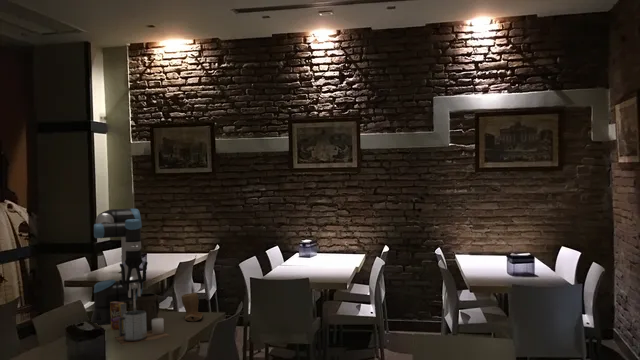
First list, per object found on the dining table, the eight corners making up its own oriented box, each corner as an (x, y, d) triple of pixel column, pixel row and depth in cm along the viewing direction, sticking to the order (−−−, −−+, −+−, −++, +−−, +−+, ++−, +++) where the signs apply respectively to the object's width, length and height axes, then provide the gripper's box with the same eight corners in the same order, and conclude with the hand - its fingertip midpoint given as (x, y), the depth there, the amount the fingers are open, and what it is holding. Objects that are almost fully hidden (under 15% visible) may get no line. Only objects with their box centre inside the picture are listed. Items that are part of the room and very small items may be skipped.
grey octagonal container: (117, 338, 280) (116, 312, 280) (143, 334, 287) (142, 309, 287) (122, 343, 271) (121, 317, 271) (149, 339, 278) (148, 313, 278)
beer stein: (150, 334, 292) (151, 296, 293) (132, 333, 294) (132, 295, 295) (164, 328, 307) (165, 292, 308) (146, 328, 309) (147, 291, 310)
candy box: (110, 330, 302) (109, 302, 302) (117, 328, 306) (116, 300, 306) (120, 332, 297) (120, 304, 297) (127, 330, 301) (126, 302, 301)
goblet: (125, 323, 281) (124, 283, 281) (140, 320, 285) (140, 281, 285) (128, 326, 274) (128, 285, 274) (144, 323, 279) (144, 283, 278)
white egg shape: (150, 332, 291) (150, 319, 291) (161, 330, 294) (161, 317, 294) (153, 335, 286) (153, 321, 286) (165, 333, 289) (165, 319, 289)
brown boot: (183, 316, 330) (182, 291, 330) (203, 315, 332) (203, 290, 332) (179, 322, 315) (179, 296, 315) (201, 321, 317) (200, 295, 317)
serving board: (114, 340, 283) (114, 337, 283) (161, 332, 296) (161, 329, 296) (122, 348, 270) (122, 344, 270) (171, 339, 282) (171, 336, 282)
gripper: (117, 252, 272) (118, 300, 272) (152, 249, 281) (153, 295, 281) (114, 250, 278) (115, 297, 278) (148, 247, 287) (149, 293, 287)
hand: (134, 296), depth 280 cm, fingers closed on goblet, 4 cm apart
